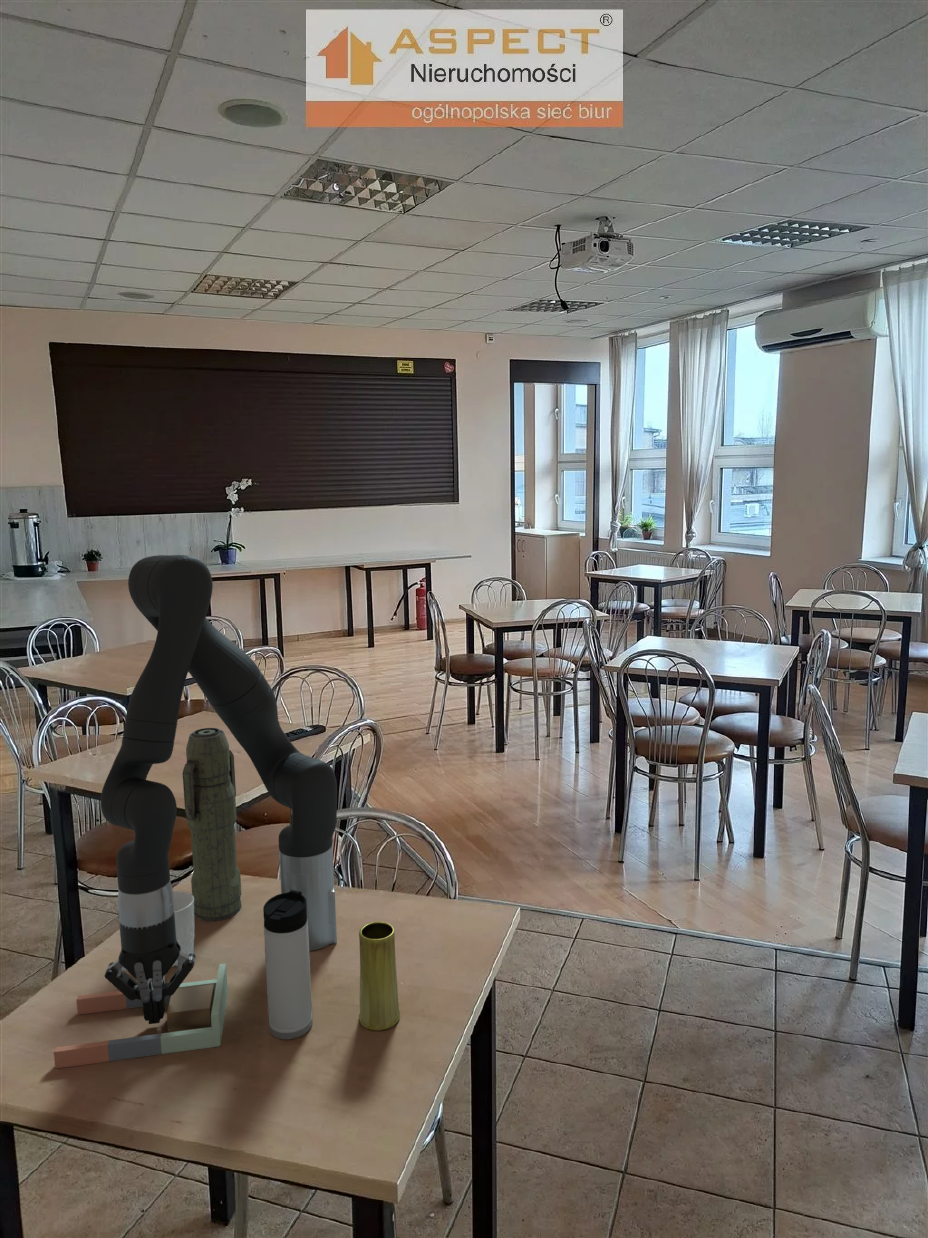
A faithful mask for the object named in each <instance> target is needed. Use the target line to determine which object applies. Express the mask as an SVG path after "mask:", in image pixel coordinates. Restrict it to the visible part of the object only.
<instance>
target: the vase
mask: <svg viewBox="0 0 928 1238" xmlns="http://www.w3.org/2000/svg"><path fill="white" fill-rule="evenodd" d="M395 937H396V935H395V927H394V926H393V925H392V924H391V923H389V922H386V921H380V920H379V921H373V922H368V923H366V924H364V925H363V926H362V927H361V928H360V929H359V932H358V939H359V941H358V942H359V975H360V976H359V1014H358V1019H359V1023H360V1024H361V1025H362V1026H363V1027H364V1028H365V1029H368V1030H370V1031H377V1032H378V1031H385V1030H388V1029H390V1028H392V1027H394V1026H395V1025H396V1024H397V1023H398V1022H399V1020H400V1017H401V1012H400V1006H399V994H398V992H399V991H398V976H397V973H398V972H397V963H396V962H397V961H396V960H397V959H396V944H395V943H396V942H395V941H396V940H395V939H396V938H395Z"/></svg>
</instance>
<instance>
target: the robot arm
mask: <svg viewBox="0 0 928 1238" xmlns="http://www.w3.org/2000/svg"><path fill="white" fill-rule="evenodd" d="M129 571H130V572H129V574H128V579H127V581H128V583H127V585H128V586H127V587H128V592H129V595H130V598H131V601H132V603H133V604H134V606H135V607H136V608H137V609H138V611H139V612H140V613H141V615H143V617H144V618H145V619H146V620H147V621H148V622H149V623H150V624H151V626H152V627H153V628H154V629H155V630H156V632H157V634H156V638H155V642H154V645H153V649H152V652H151V653H150V657H149V659H148V661H147V663H146V665H145V667H144V669H143V671H142V672H141V674H140V675H139V678H138V680H137V682H136V684H135V686H134V687H133V691H132V692H131V695H130V698H129V701H128V705H127V709H126V714H125V719H124V720H125V721H124V725H123V732H122V739H121V745H120V748H119V750H118V753H117V754H116V757H115V758H114V761H113V763H112V765H111V767H110V770H109V773H108V775H107V777H106V780H105V782H104V784H103V787H102V791H101V794H100V795H101V796H100V811H101V813H102V816H103V818H104V819H105V820H106V821H107V822H108V823H110V824H111V825H113V826H116V827H121V828H125V829H129V830H133V831H134V839H133V840H130V841H128V842H126V843H124V844H123V845H121V847H120V848H119V849H118V851H117V854H116V859H115V860H116V877H117V887H118V890H117V891H118V894H117V917H118V925H119V937H120V952H119V955H118V959H116V960H115V962H113V961H112V962H110V963H109V964H108V965H107V967H106V970H105V973H104V978H105V979H106V980H107V981H108V982H109V983H110V984H111V985H113V987H115V988H116V990H117V991H120V992H122V993H123V994H124V995H125V996H126V997H127V998H128V999H129V1000H135V999H139V1000H141V1001H142V1003H143V1007H142V1012H143V1019H144V1021H148V1025H155V1024H160V1023H161V1020H163V1019H164V1016H165V1013H166V1004H165V996H167V995H168V996H171V995H173V994H174V993H175V991H176V990H177V989H178V987H179V986H180V985H181V983H184V980H185V979H186V978H188V976H189V974H190V973H191V971H192V970H193V968H194V967H195V963H196V962H195V961H196V958H197V956H196V954H195V953H194V954H192V953H191V954H189V955H187V954H185V953H183V952H182V951H181V947H180V945H179V944H178V942H177V940H176V928H175V914H174V900H173V887H172V881H171V872H170V859H169V851H170V847H171V842H172V838H173V834H174V829H175V824H176V819H177V811H178V810H177V809H178V808H177V807H178V806H177V805H178V804H177V800H176V798H175V795H174V792H173V791H172V790H171V788H170V787H169V786H167V785H166V784H164V783H161V782H156V781H152V780H148V779H147V778H148V775H149V772H150V770H151V769H152V767H153V765H158V764H163V763H165V762H167V761H169V760H170V759H171V757H172V755H173V751H174V747H175V746H174V745H175V739H176V733H177V726H178V721H179V715H180V714H179V713H180V709H181V703H182V697H183V693H184V687H185V684H186V681H187V678H188V674H190V676H191V678H192V679H193V680H194V682H195V683H196V684H197V686H198V688H199V689H200V690H201V692H202V694H203V695H204V697H205V698H206V700H207V701H208V702H209V704H210V705H211V707H212V709H213V710H214V711H215V713H216V714H217V716H218V717H219V718H220V720H221V721H222V722H223V723H224V725H225V726H226V727H227V729H228V730H229V732H230V733H231V734H232V736H233V737H234V738H235V740H236V741H237V742H238V743H239V745H240V746H241V747H242V748H243V750H244V752H245V753H246V754H247V756H248V757H249V758H250V761H251V762H252V764H253V766H254V768H255V769H256V770H255V771H256V772H257V774H258V776H259V777H260V779H261V781H262V783H263V786H264V787H265V789H266V790H267V792H268V794H269V795H270V797H272V799H273V800H274V801H275V802H276V803H278V804H280V805H282V806H284V807H286V808H289V809H291V824H288V825H287V826H285V827H283V829H281V831H280V832H279V833H278V859H279V860H278V861H279V874H280V876H279V877H280V878H279V879H280V894H282V893H287V892H289V891H291V890H295V891H301V892H302V895H303V896H304V897H305V898H306V901H307V919H308V937H309V952H312V951H316V950H321V949H323V948H325V947H327V946H329V945H333V944H337V943H338V937H337V935H338V933H337V915H336V914H337V912H336V911H337V910H336V889H335V874H334V873H335V869H334V849H333V848H334V845H333V844H334V842H333V839H334V838H333V836H334V833H335V830H336V827H337V818H338V816H337V815H338V814H337V813H338V811H337V810H338V808H337V807H338V784H337V783H338V782H337V778H336V775H335V774H336V773H335V771H334V769H333V768H332V766H331V765H330V764H329V763H327V762H325V761H323V760H320V759H318V758H315V757H312V756H310V755H309V756H308V755H306V754H304V753H302V752H300V751H299V750H298V749H297V748H296V747H295V746H294V744H293V743H292V742H291V740H290V739H289V737H288V736H287V735H286V734H285V732H284V731H283V729H282V727H281V724H280V721H279V714H278V704H277V700H276V695H275V694H274V690H273V689H272V687H271V685H270V683H269V682H268V681H267V679H266V678H265V676H264V675H263V673H262V671H261V670H260V668H259V666H257V664H256V662H255V661H254V660H253V659H252V658H251V657H250V656H249V655H248V654H247V653H246V652H245V651H244V650H243V649H241V648H240V647H239V646H238V645H237V644H236V643H234V642H233V641H232V640H231V639H229V638H227V636H226V635H225V634H223V633H222V632H221V631H219V630H218V629H217V628H216V627H215V625H213V624H212V623H211V621H210V620H209V619H208V618H207V614H208V610H209V607H210V604H211V600H212V595H213V588H214V587H213V586H214V585H213V583H214V581H213V577H212V574H211V571H210V569H209V567H208V566H207V565H206V564H205V563H204V562H203V561H202V559H199V558H197V557H195V556H193V555H185V554H171V555H170V554H169V555H166V554H165V555H164V554H159V555H151V556H147V557H144V558H141V559H139V560H138V561H137V562H135V563H134V565H132V568H131V569H130V570H129ZM176 960H178V964H177V966H176V968H177V969H176V970H175V972H174V973H173V974H172V976H171V977H170V979H169V981H168V982H166V979H165V978H166V975H167V974H168V973H169V972H170V971H171V968H172V966H173V964H174V963H175V961H176ZM173 967H174V966H173ZM126 971H127V972H128V973H129V974H130V975H131V976H130V975H129V974H128V973H127V972H126ZM132 977H133V978H132ZM135 979H136V980H135ZM152 987H153V988H152ZM152 990H153V991H152Z"/></svg>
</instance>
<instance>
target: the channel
mask: <svg viewBox="0 0 928 1238" xmlns="http://www.w3.org/2000/svg"><path fill="white" fill-rule="evenodd" d="M217 970H218V971H217V976H216V978H215V979H206V980H197V981H188V982H182V983H181V985H180V986H179V987H178V988H185V987H193V986H202V985H210V984H214V1000H213V1006H212V1012H211V1024H212V1027H208V1028H200V1029H192V1030H185V1031H177V1032H169V1033H168V1032H162V1033H156V1034H147V1035H141V1036H133V1037H132V1036H131V1037H124V1038H123V1037H122V1038H117V1039H110V1040H103V1041H96V1042H88V1043H79V1044H71V1045H64V1046H63V1045H62V1046H56V1047H55V1048H54V1051H53V1057H54V1058H53V1059H54V1068H55V1069H60V1068H69V1067H76V1066H84V1065H90V1064H97V1063H99V1064H100V1063H107V1062H112V1061H121V1060H127V1059H135V1058H142V1057H149V1056H150V1057H151V1056H158V1055H165V1054H173V1053H181V1052H185V1051H188V1052H189V1051H193V1050H194V1051H195V1050H202V1049H210V1048H215V1047H221V1044H222V1043H221V1042H222V1036H223V1029H224V1022H225V1017H226V1015H225V1013H226V1009H227V1001H228V995H229V988H228V972H227V971H228V969H227V962H226V963H219V966H218V969H217ZM152 988H153V986H152ZM152 991H153V990H152ZM170 998H171V996H168V995H167V996H165V1005H167V1004H169V1002H170ZM140 1007H141V1008H143V1003H142V1001H141V1000H139V999H135V1000H129V999H128V998H127V997H126V996H125V995H124V994H123V993H122V992H120V991H119V990H113V991H105V992H98V993H91V994H81V995H80V994H79V995H78V996H77V997H76V1008H77V1015H83V1014H84V1015H86V1014H95V1013H102V1012H108V1011H109V1012H110V1011H117V1010H125V1009H126V1010H127V1009H133V1008H135V1009H136V1008H140Z"/></svg>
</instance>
